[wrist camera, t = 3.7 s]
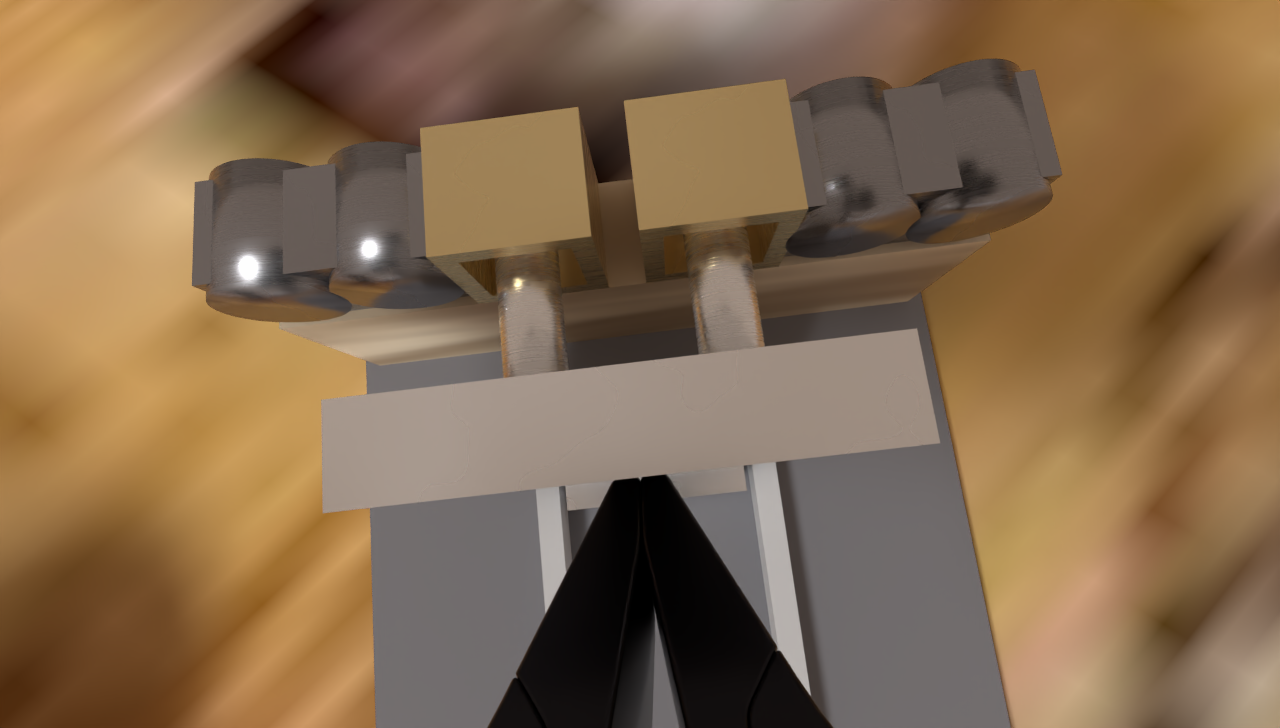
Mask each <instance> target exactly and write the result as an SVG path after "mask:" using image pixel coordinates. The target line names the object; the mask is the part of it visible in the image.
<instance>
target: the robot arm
mask: <svg viewBox="0 0 1280 728" xmlns="http://www.w3.org/2000/svg"><path fill="white" fill-rule="evenodd" d="M655 613H656V619H657V624H658V630H659V635H660V640H661V645H662V650H663V654H664V659H665V664H666V668H667V673H668V678H669V683H670V687H671V692H672V697H673V701H674V706H675V711H676V716H677V720H678V725H679V728H834V727H833V726H832V725H831V723H830V722H829V721H828V720H827V718H826V717H825V716H824V714H823V713H822V712H821V710H820V709H819V707H818V706H817V705H816V703H815V702H814V700H813V699H812V697H811V696H810V694H809V693H808V691H807V690H806V688H805V687H804V686H803V684H802V683H801V681H800V680H799V678H798V677H797V675H796V674H795V672H794V671H793V669H792V668H791V666H790V664H789V663H788V661H787V660H786V658H785V657H784V655H783V654H782V652H781V651H779V650H778V651H777V645H776V643H775V642H774V640H773V638H772V637H771V635H770V634H769V632H768V631H767V629H766V628H765V626H764V624H763V623H762V621H761V620H760V618H759V617H758V615H757V613H756V612H755V610H754V609H753V607H752V606H751V604H750V603H749V601H748V599H747V598H746V596H745V595H744V593H743V592H742V590H741V589H740V587H739V585H738V584H737V582H736V581H735V579H734V578H733V576H732V574H731V573H730V571H729V570H728V568H727V567H726V565H725V564H724V562H723V560H722V559H721V557H720V556H719V554H718V553H717V551H716V550H715V548H714V546H713V545H712V543H711V542H710V540H709V539H708V537H707V535H706V534H705V532H704V531H703V529H702V528H701V526H700V525H699V523H698V521H697V520H696V518H695V517H694V515H693V514H692V512H691V510H690V509H689V507H688V506H687V504H686V503H685V501H684V500H683V498H682V496H681V495H680V493H679V492H678V490H677V489H676V487H675V486H674V484H673V482H672V481H671V479H670V478H669V477H668V476H667V475H666V474H665V475H656V476H647V477H642V478H641V482H640V479H639V478H629V479H620V480H614V481H613V482H612V483H611V485H610V487H609V489H608V491H607V493H606V495H605V497H604V499H603V501H602V503H601V505H600V507H599V509H598V511H597V513H596V514H595V516H594V518H593V520H592V522H591V524H590V526H589V528H588V530H587V532H586V534H585V536H584V538H583V540H582V542H581V544H580V546H579V548H578V550H577V552H576V554H575V556H574V558H573V560H572V562H571V564H570V566H569V568H568V570H567V572H566V574H565V576H564V578H563V580H562V582H561V584H560V586H559V588H558V590H557V592H556V594H555V596H554V598H553V600H552V602H551V604H550V606H549V608H548V610H547V612H546V614H545V616H544V618H543V620H542V622H541V624H540V626H539V628H538V630H537V632H536V634H535V636H534V638H533V639H532V641H531V643H530V645H529V647H528V649H527V651H526V653H525V655H524V657H523V659H522V661H521V663H520V665H519V667H518V669H517V671H516V676H517V678H513V679H512V681H511V683H510V685H509V687H508V689H507V691H506V693H505V695H504V697H503V699H502V701H501V703H500V704H499V706H498V708H497V710H496V712H495V714H494V716H493V718H492V719H491V721H490V723H489V725H488V727H487V728H652V720H653V689H654V658H655Z"/></svg>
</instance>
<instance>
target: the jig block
mask: <svg viewBox="0 0 1280 728" xmlns="http://www.w3.org/2000/svg"><path fill="white" fill-rule="evenodd" d="M598 187H599V197H600V206H601V215H602V225H603V234H604V244H605V253H606V263H607V272H608V281H609V288H603V289H595V290H587V291H579V292H571V293H563V294H562V299H563V310H564V321H565V332H566V343H570V342H578V341H587V340H595V339H603V338H611V337H619V336H628V335H636V334H644V333H652V332H661V331H669V330H677V329H685V328H693V327H695V323H694V315H693V308H692V300H691V293H690V285H689V278H683V279H675V280H667V281H659V282H651V283H647V282H646V275H645V268H644V261H643V255H642V248H641V241H640V234H639V226H638V217H637V209H636V200H635V192H634V184H633V179H629V180H622V181H614V182H606V183H599V184H598ZM989 241H991V238H990V234H989V233H988V234H985V235H981V236H978V237H974V238H969V239H965V240H960V241H954V242H947V243H937V244H923V243H916V242H912V241H906V242H898V243H890V244H883V245H880V246H877V247H874V248H871V249H868V250H864V251H860V252H857V253H852V254H847V255H842V256H835V257H825V258H806V257H800V256H796V255H794V256H786V257H784V258H783V260H782V261H781V263H780V265H779V267H772V268H764V269H756V270H753V272H754V279H755V285H756V292H757V298H758V305H759V311H760V318H761V319H767V318H776V317H784V316H792V315H800V314H808V313H817V312H825V311H833V310H841V309H850V308H858V307H866V306H874V305H882V304H891V303H899V302H907V301H909V300H910V299H912V298H913V297H915V296H916V295H917V294H919V293H920V292H921V291H923V290H924V289H925V288H927V287H928V286H929V285H931V284H932V283H934V282H935V281H936V280H938V279H939V278H940V277H942V276H943V275H944V274H946V273H947V272H948V271H950V270H951V269H953V268H954V267H955V266H957V265H958V264H959V263H961V262H962V261H963V260H965V259H966V258H967V257H969V256H970V255H972V254H973V253H974V252H976V251H977V250H978V249H980V248H981V247H982V246H984V245H985V244H986V243H988V242H989ZM279 329H281V330H284V331H287V332H290V333H292V334H295V335H298V336H300V337H303V338H306V339H309V340H311V341H314V342H317V343H319V344H322V345H325V346H328V347H330V348H333V349H336V350H339V351H341V352H344V353H347V354H349V355H352V356H355V357H358V358H360V359H363V360H366V361H369V362H371V363H374V364H377V365H379V366H381V365H389V364H397V363H406V362H414V361H422V360H430V359H439V358H447V357H455V356H463V355H471V354H480V353H488V352H496V351H501V341H500V327H499V312H498V302H491V303H483V304H479V303H478V302H477V301H476V300H474V299H473V298H472V297H471V296H467V297H459V298H458V299H456V300H454V301H451V302H449V303H446V304H442V305H438V306H433V307H426V308H416V309H384V308H371V309H363V310H355V311H349V312H348V313H347V314H345V315H342V316H340V317H336V318H333V319H328V320H322V321H313V322H279Z"/></svg>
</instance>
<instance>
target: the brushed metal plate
mask: <svg viewBox="0 0 1280 728" xmlns="http://www.w3.org/2000/svg"><path fill="white" fill-rule="evenodd" d="M683 240H684V247H685V255H686V263H687V270H688V278H689V285H690V293H691V300H692V308H693V315H694V323H695V331H696V338H697V346H698V353H699V355H691V356H683V357H675V358H666V359H658V360H650V361H641V362H633V363H625V364H616V365H608V366H600V367H591V368H583V369H575V370H569V365H568V354H567V343H566V332H565V321H564V310H563V299H562V288H561V277H560V266H559V255H558V250H554V251H546V252H538V253H531V254H523V255H515V256H507V257H499V258H495V269H496V283H497V298H498V312H499V327H500V341H501V355H502V370H503V378H500V379H491V380H483V381H475V382H466V383H458V384H450V385H441V386H433V387H425V388H416V389H408V390H400V391H391V392H383V393H375V394H366V395H358V396H350V397H341V398H333V399H325V400H321V404H322V485H323V513H329V512H337V511H346V510H355V509H364V508H373V507H382V506H391V505H400V504H409V503H417V502H426V501H435V500H444V499H453V498H462V497H471V496H480V495H489V494H497V493H506V492H515V491H524V490H533V489H542V488H551V487H559V486H565V487H566V499H567V511H569V510H578V509H587V508H596V507H600V505H601V503H602V501H603V499H604V497H605V495H606V493H607V491H608V489H609V487H610V485H611V483H612V482H613V481H614V480H620V479H629V478H639V479H640V482H641V478H642V477H647V476H656V475H665V474H666V475H667V476H668V477H669V478H670V479H671V481H672V482H673V484H674V486H675V487H676V489H677V490H678V492H679V493H680V495H681V496H682V498H685V497H694V496H703V495H712V494H721V493H730V492H739V491H747V488H746V481H745V474H744V466H745V465H754V464H762V463H771V462H780V461H789V460H798V459H806V458H815V457H824V456H832V455H841V454H850V453H859V452H867V451H876V450H885V449H894V448H902V447H911V446H920V445H929V444H937V443H940V439H939V434H938V429H937V424H936V419H935V414H934V409H933V405H932V400H931V395H930V390H929V385H928V380H927V375H926V370H925V365H924V360H923V355H922V350H921V346H920V341H919V336H918V331H917V328H916V329H908V330H899V331H891V332H883V333H874V334H866V335H858V336H850V337H841V338H833V339H825V340H816V341H808V342H800V343H791V344H783V345H775V346H766V347H765V344H764V337H763V331H762V324H761V318H760V311H759V305H758V298H757V292H756V285H755V279H754V272H753V266H752V259H751V253H750V246H749V240H748V233H747V227H746V226H743V227H735V228H727V229H719V230H711V231H704V232H696V233H688V234H683Z"/></svg>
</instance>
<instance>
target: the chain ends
mask: <svg viewBox="0 0 1280 728" xmlns="http://www.w3.org/2000/svg"><path fill="white" fill-rule="evenodd" d="M624 107H625V116H626V124H627V133H628V141H629V150H630V158H631V167H632V175H633V184H634V192H635V200H636V209H637V217H638V226H639V234H640V241H641V248H642V255H643V261H644V268H645V275H646V282H647V283H651V282H659V281H667V280H675V279H683V278H688V270H687V263H686V255H685V247H684V240H683V234H688V233H696V232H704V231H711V230H719V229H727V228H735V227H743V226H746V227H747V233H748V240H749V246H750V253H751V259H752V266H753V270H756V269H764V268H772V267H779V265H780V263H781V261H782V260H783V258H784V257H786V256H794V255H796V256H800V257H806V258H825V257H835V256H842V255H847V254H852V253H857V252H860V251H864V250H868V249H871V248H874V247H877V246H880V245H883V244H890V243H898V242H906V241H912V242H916V243H923V244H937V243H947V242H954V241H960V240H965V239H969V238H974V237H978V236H981V235H985V234H988V233H992V232H995V231H998V230H1000V229H1003V228H1006V227H1009V226H1011V225H1014V224H1016V223H1018V222H1020V221H1023V220H1025V219H1027V218H1029V217H1030V216H1032V215H1034V214H1036V213H1037V212H1039V211H1040V210H1042V209H1043V208H1044V207H1046V206H1047V205H1048V204H1049V203H1050V201H1051V200H1052V197H1053V194H1052V190H1051V186H1050V184H1051V183H1052V182H1053V181H1055V180H1056V179H1057V178H1059V177H1060V176H1061V175H1062V171H1061V168H1060V164H1059V160H1058V156H1057V152H1056V149H1055V145H1054V141H1053V137H1052V133H1051V130H1050V126H1049V122H1048V118H1047V114H1046V111H1045V107H1044V103H1043V99H1042V95H1041V91H1040V88H1039V84H1038V80H1037V76H1036V72H1035V70H1029V71H1021V70H1020V68H1019V67H1018V66H1017V65H1016V64H1015V63H1013V62H1011V61H1008V60H1003V59H982V60H975V61H970V62H966V63H962V64H958V65H955V66H952V67H949V68H946V69H944V70H941V71H939V72H937V73H934V74H932V75H930V76H928V77H926V78H924V79H922V80H921V81H919V82H917V83H916V84H914V85H912V86H909V87H902V88H894V89H893V88H892V87H891V86H890V85H889V84H888V83H886V82H884V81H882V80H880V79H876V78H871V77H848V78H842V79H836V80H832V81H828V82H825V83H822V84H819V85H817V86H814V87H812V88H809V89H807V90H805V91H803V92H801V93H799V94H798V95H796V96H794V97H793V98H791V99H790V100H789V96H788V90H787V84H786V79H780V80H773V81H765V82H758V83H751V84H743V85H736V86H728V87H721V88H714V89H706V90H699V91H692V92H684V93H677V94H669V95H662V96H655V97H647V98H640V99H632V100H625V101H624ZM420 137H421V147H417V146H413V145H409V144H403V143H396V142H367V143H360V144H355V145H351V146H348V147H346V148H343V149H341V150H339V151H337V152H336V153H335V154H334V155H332V157H331V158H330V159H329V161H328V164H327V165H319V166H312V167H309V166H306V165H302V164H299V163H294V162H289V161H283V160H276V159H261V158H255V159H240V160H235V161H230V162H227V163H224V164H221V165H219V166H218V167H216V168H214V169H213V170H212V171H211V173H210V175H209V180H207V181H200V182H195V200H194V234H193V268H192V286H194V287H196V288H199V289H201V290H204V291H206V302H207V304H208V305H209V306H210V307H211V308H213V309H215V310H217V311H219V312H222V313H225V314H228V315H231V316H235V317H240V318H245V319H251V320H258V321H268V322H313V321H322V320H328V319H333V318H336V317H340V316H342V315H345V314H347V313H348V312H349V311H355V310H363V309H371V308H384V309H416V308H426V307H433V306H438V305H442V304H446V303H449V302H451V301H454V300H456V299H458V298H459V297H467V296H471V297H472V298H473V299H474V300H476V301H477V302H478V303H479V304H483V303H491V302H498V298H497V283H496V269H495V258H499V257H507V256H515V255H523V254H531V253H538V252H546V251H554V250H558V255H559V266H560V277H561V288H562V294H563V293H571V292H579V291H587V290H595V289H603V288H609V281H608V272H607V263H606V253H605V244H604V234H603V225H602V215H601V206H600V197H599V187H598V181H597V177H596V174H595V170H594V166H593V162H592V158H591V154H590V151H589V147H588V143H587V139H586V135H585V132H584V128H583V124H582V120H581V116H580V112H579V109H578V107H573V108H566V109H559V110H551V111H544V112H536V113H529V114H522V115H514V116H507V117H499V118H492V119H485V120H477V121H470V122H462V123H455V124H448V125H440V126H433V127H426V128H420Z"/></svg>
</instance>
